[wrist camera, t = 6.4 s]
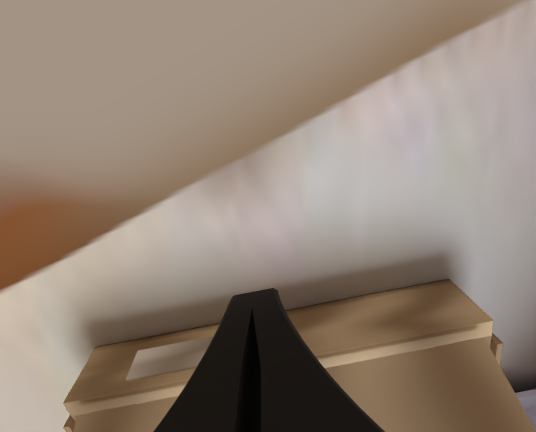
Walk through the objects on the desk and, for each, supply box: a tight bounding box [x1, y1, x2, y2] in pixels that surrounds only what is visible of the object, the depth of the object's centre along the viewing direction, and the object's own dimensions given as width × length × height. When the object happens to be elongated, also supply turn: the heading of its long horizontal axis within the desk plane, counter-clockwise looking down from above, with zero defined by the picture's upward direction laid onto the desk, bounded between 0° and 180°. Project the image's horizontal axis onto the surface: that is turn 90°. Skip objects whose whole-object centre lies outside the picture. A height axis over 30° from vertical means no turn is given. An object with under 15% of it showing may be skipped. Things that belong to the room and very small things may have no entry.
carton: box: [63, 279, 503, 432], centre depth 17 cm, size 18×13×3 cm
